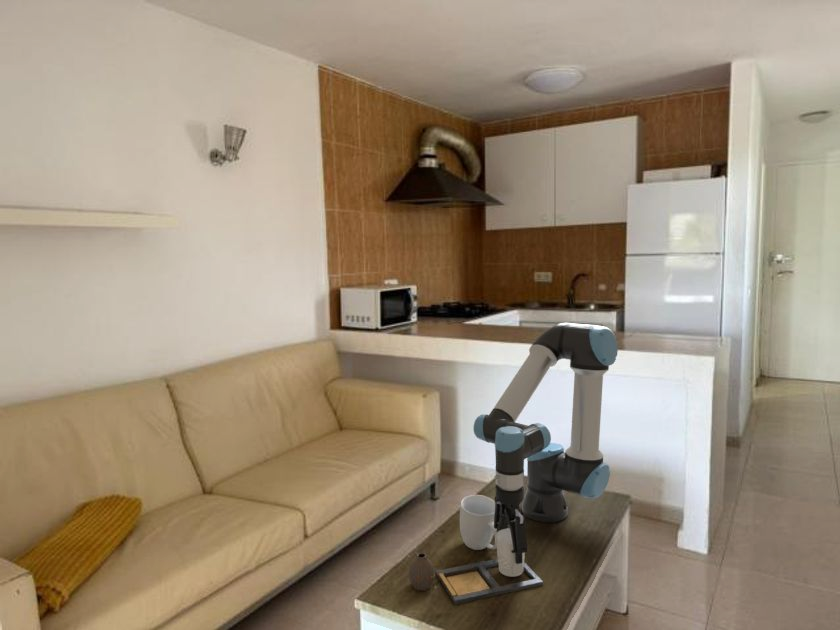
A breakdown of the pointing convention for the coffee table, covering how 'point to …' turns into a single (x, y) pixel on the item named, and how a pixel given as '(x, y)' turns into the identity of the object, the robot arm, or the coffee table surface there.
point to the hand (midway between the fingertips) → (509, 564)
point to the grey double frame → (480, 582)
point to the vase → (421, 572)
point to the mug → (477, 522)
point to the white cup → (506, 552)
